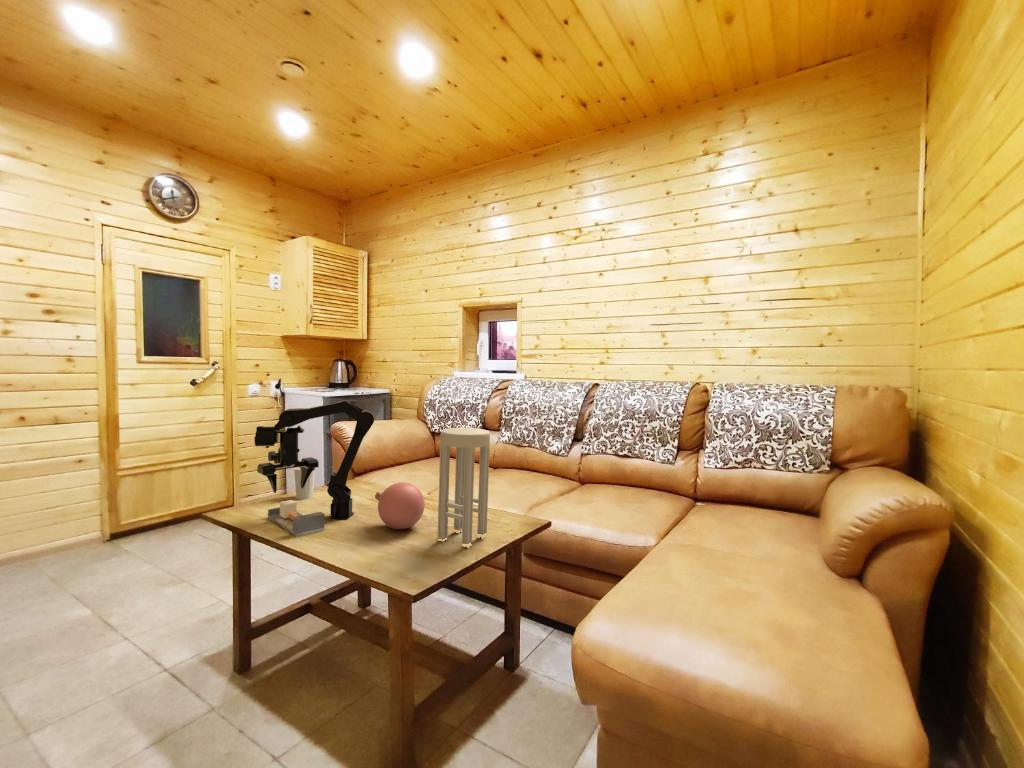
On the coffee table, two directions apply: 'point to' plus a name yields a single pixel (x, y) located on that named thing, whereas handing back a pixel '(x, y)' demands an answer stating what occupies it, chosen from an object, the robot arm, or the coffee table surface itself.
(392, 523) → the balloon
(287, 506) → the cream rectangular block
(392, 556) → the coffee table surface
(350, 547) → the coffee table surface
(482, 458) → the stool
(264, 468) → the robot arm
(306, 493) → the cup
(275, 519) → the gray display stand
